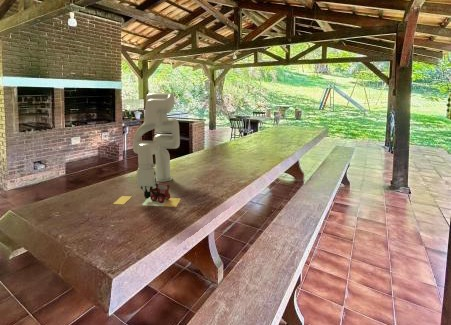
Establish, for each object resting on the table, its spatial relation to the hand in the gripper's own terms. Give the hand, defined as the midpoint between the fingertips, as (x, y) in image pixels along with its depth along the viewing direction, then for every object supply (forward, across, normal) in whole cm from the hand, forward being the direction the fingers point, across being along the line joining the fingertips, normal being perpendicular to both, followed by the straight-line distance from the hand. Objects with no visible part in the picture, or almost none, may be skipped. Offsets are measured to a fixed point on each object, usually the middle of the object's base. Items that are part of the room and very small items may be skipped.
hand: (147, 197), depth 162 cm
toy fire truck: (+2, -7, -2) cm, 7 cm away
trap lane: (+2, 0, 0) cm, 2 cm away
